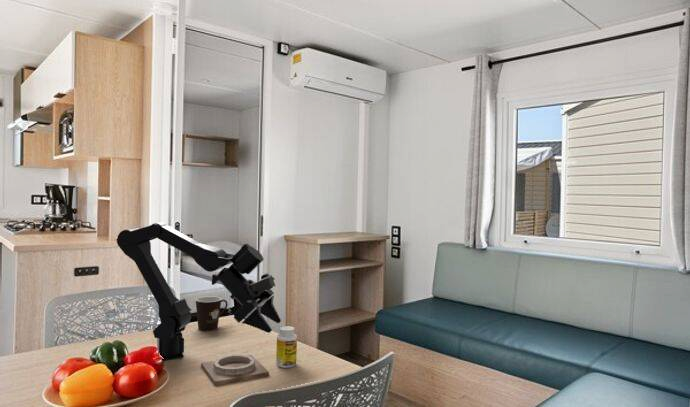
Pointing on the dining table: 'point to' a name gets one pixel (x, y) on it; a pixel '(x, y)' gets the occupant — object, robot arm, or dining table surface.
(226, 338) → the dining table surface
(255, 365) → the ring stand
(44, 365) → the dining table surface
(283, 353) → the supplement bottle
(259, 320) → the robot arm
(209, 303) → the coffee mug
